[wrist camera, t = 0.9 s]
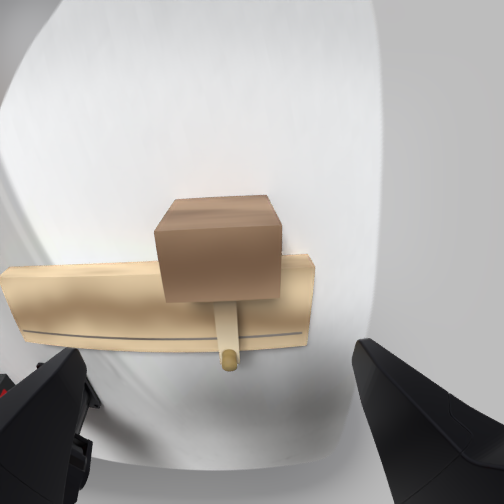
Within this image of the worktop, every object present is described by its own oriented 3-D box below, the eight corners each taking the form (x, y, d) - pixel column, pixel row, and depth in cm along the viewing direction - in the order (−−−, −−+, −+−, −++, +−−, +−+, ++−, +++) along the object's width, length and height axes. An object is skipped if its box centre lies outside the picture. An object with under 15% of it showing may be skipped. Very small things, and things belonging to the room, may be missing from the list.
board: (301, 329, 24) (306, 345, 22) (34, 329, 22) (25, 341, 21) (308, 254, 21) (315, 267, 19) (9, 267, 20) (-3, 277, 18)
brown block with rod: (266, 328, 24) (275, 383, 18) (193, 332, 23) (186, 387, 18) (266, 195, 19) (282, 225, 14) (175, 199, 19) (154, 231, 13)
